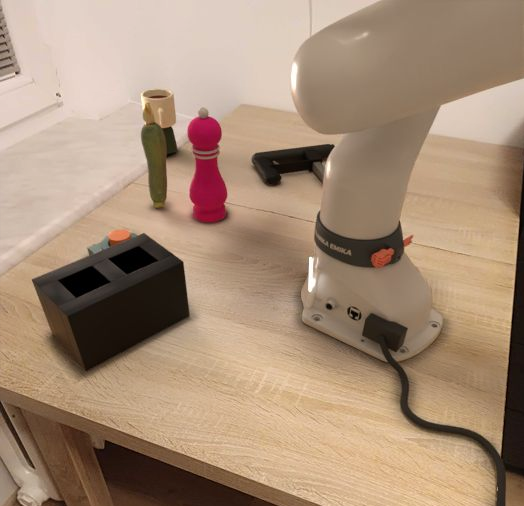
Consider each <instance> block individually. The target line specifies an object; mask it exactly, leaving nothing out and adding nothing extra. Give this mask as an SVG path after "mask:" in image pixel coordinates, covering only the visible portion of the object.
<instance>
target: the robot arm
mask: <svg viewBox="0 0 524 506" xmlns="http://www.w3.org/2000/svg"><path fill="white" fill-rule="evenodd" d="M289 79H290V80H289V83H290V93H291V94H290V95H291V98H292V102H293V105H294V107H295V109H296V112H298V115H299V117H300V118H301V120H302V121H303V122H304V123H305V125H306V126H308V127H309V128H310V129H311V130H313V131H314V132H317V133H319V134H321V135H325V136H326V135H327V136H335V135H336V136H337V135H341V136H340V138H339V140H338V142H337V143H336V144H335V147H334V148H333V150H332V151H331V153H330V155H329V157H328V158H326V162H325V165H324V167H325V170H324V179H323V183H322V189H321V197H320V198H321V199H320V209H319V210H318V212H317V214H316V218H315V226H314V233H313V234H314V235H313V239H314V243H315V245H314V250H313V257H309V261H308V262H309V265H308V274H307V277H306V279H305V281H304V283H303V286H302V288H301V290H300V300H301V303H302V306H303V310H302V314H301V321H302V323H303V324H305V325H307V326H309V327H311V328H313V329H315V330H317V331H319V332H321V333H324V334H326V335H328V336H329V337H332V338H334V339H336V340H339V342H343V343H344V344H346V345H349V346H351V347H353V348H355V349H357V350H358V351H361V352H363V353H365V354H367V355H369V356H372V357H374V358H375V359H377V360H380V361H382V362H385V363H388V364H389V365H390V366H391V367H392V368H393V369H394V371H396V373H397V374H398V376H399V378H400V382H401V393H400V400H399V402H400V408H401V410H402V412H403V414H404V415H405V416H406V417H407V419H409V421H411V422H412V423H413V424H415V425H417V426H419V427H421V428H423V429H426V430H430V431H433V432H439V433H447V434H451V435H452V434H453V435H458V436H463V437H467V438H469V439H472V440H473V441H475V442H477V443H478V444H479V445H481V446H482V448H484V449H485V451H487V453H488V454H489V455H490V457H491V458H492V460H493V462H494V465H495V471H496V488H497V487H498V491H497V490H496V495H495V498H496V497H497V501H495V504H496V505H495V506H506V502H507V501H506V498H507V495H506V494H507V491H506V490H507V478H506V476H507V474H506V473H507V472H506V468H505V463H504V461H503V458H502V456H501V454H500V453H499V452H498V450H497V448H496V447H495V446H494V445H493V444H492V443H491V442H490V441H489V440H488V439H487V438H486V437H484V435H481V434H480V433H478V432H476V431H474V430H471V429H469V428H465V427H460V426H455V425H449V424H441V423H435V422H431V421H427V420H425V419H423V418H421V417H419V416H418V415H416V414H415V413H414V412H413V411H412V410H411V408H410V406H409V394H410V393H409V392H410V382H409V377H408V375H407V373H406V370H405V369H404V368H403V367H402V366H401V365H400V363H399V362H402V361H406V360H408V359H411V358H413V357H415V356H416V355H418V354H420V353H422V352H423V351H424V350H425V349H427V348H428V347H429V346H431V344H432V343H433V342H434V341H435V340H436V339H437V338H438V336H439V335H440V333H441V331H442V328H443V324H444V323H443V322H444V318H443V316H442V314H441V313H439V312H438V311H437V310H436V309H434V308H433V307H432V304H433V292H432V291H433V290H432V288H431V286H430V284H429V282H427V280H426V279H425V277H424V276H423V275H422V273H421V272H420V270H419V268H418V267H417V266H416V265H415V263H413V261H412V260H411V258H410V257H409V255H408V254H407V253H406V252H405V248H406V247H408V246H410V244H411V243H413V239H414V235H413V234H411V235H409V236H408V237H406V238H404V234H403V228H402V223H401V215H402V211H403V207H404V203H405V198H406V195H407V192H408V187H409V184H410V179H411V176H412V172H413V170H414V167H415V165H416V163H417V162H416V161H417V159H418V157H419V155H420V152H421V150H422V148H423V145H424V143H425V141H426V139H427V137H428V135H429V133H430V131H431V129H432V126H433V124H434V122H435V121H436V117H437V115H438V113H439V111H440V110H441V107H442V106H443V105H446V104H449V103H453V102H455V101H459V100H461V99H464V98H467V97H470V96H472V95H475V94H478V93H481V92H484V91H488V90H491V89H494V88H497V87H500V86H504V85H508V84H510V83H513V82H517V81H520V80H523V79H524V0H378V1H376V2H374V3H371V4H369V5H367V6H365V7H362V8H361V9H359V10H357V11H354V12H352V13H350V14H348V15H346V16H344V17H342V18H340V19H338V20H336V21H335V22H333V23H331V24H329V25H327V26H325V27H324V28H322V29H320V30H319V31H317V32H316V33H314V34H312V35H311V36H310V37H308V38H307V39H306V40H304V41H303V42H302V43H301V44H300V46H299V47H298V49H297V51H296V53H295V55H294V58H293V60H292V63H291V68H290V77H289Z"/></svg>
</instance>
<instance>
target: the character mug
mask: <svg viewBox="0 0 524 506" xmlns="http://www.w3.org/2000/svg"><path fill="white" fill-rule="evenodd" d="M140 98H141V105H142V106H141V107H142V111H143V110H144V108H145V104H146V103H150V107H151V108H152V112H153V115H154V118H155V123H157V124H158V125H160V127H161V128H162V130H163V132H164V135H165V140H166V148H167V155H169V154H173V153H176V152H177V151H178V146H177V140H176V135H175V132H174V131H175V130H174V129H173V126H175V125H176V124H177V116H176V115H177V113H176V104H175V95H174V92H173V91H172V90H170V89H166V88H153V89H147V90H144V91H142V92H141V93H140ZM145 124H146V122H145V121H144V125H145Z"/></svg>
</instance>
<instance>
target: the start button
mask: <svg viewBox="0 0 524 506" xmlns="http://www.w3.org/2000/svg"><path fill="white" fill-rule="evenodd" d="M130 232H131V231H130V230H127V229H124V228H119V229H113V230H112V231H110V232H109V233H108V235H107V236H108V238H109V242H110V246H114V245H116V244H118V243H121V242H123V241H126V240H128V239H130V238H131V234H130Z"/></svg>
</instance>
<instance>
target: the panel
mask: <svg viewBox="0 0 524 506" xmlns="http://www.w3.org/2000/svg"><path fill="white" fill-rule="evenodd" d="M129 232H130V234H131V238H133V237H135V236H138V235H139V234H137V233H135V232H131V231H129ZM109 247H111V246H110V242H109V238H108V235H106V236H105V237H104V238H103V239H102V240H101V241H100V242H97V243H95V244H93V245H90V246H87V248H86V249H87V252H88V256H89V255H92V254H94V253H97V252H99V251H101V250H104V249H106V248H109Z"/></svg>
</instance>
